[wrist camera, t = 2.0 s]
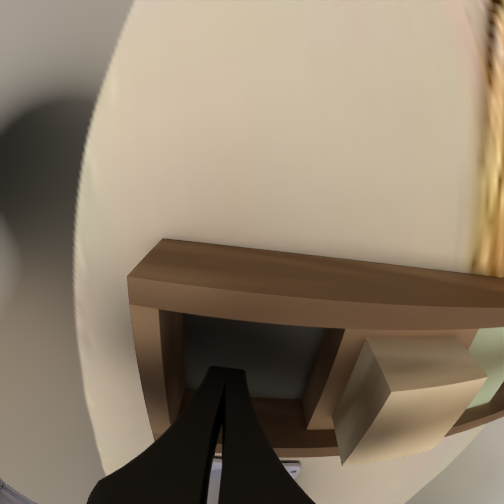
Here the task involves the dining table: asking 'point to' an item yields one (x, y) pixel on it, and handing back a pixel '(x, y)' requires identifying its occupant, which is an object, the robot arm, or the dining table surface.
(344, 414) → the maple block
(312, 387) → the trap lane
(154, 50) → the dining table surface
